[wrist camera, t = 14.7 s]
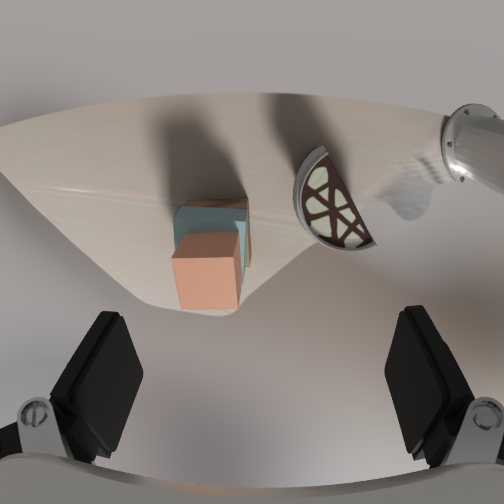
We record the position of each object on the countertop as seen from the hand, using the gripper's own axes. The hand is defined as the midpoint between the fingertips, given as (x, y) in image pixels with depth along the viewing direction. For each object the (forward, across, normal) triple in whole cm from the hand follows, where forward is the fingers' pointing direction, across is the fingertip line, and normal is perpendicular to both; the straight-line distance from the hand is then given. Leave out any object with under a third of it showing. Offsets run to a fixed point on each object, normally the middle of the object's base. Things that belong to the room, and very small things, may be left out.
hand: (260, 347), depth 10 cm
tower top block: (+29, +7, +9) cm, 31 cm away
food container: (+32, -6, +4) cm, 33 cm away
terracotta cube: (+25, +6, +9) cm, 27 cm away
